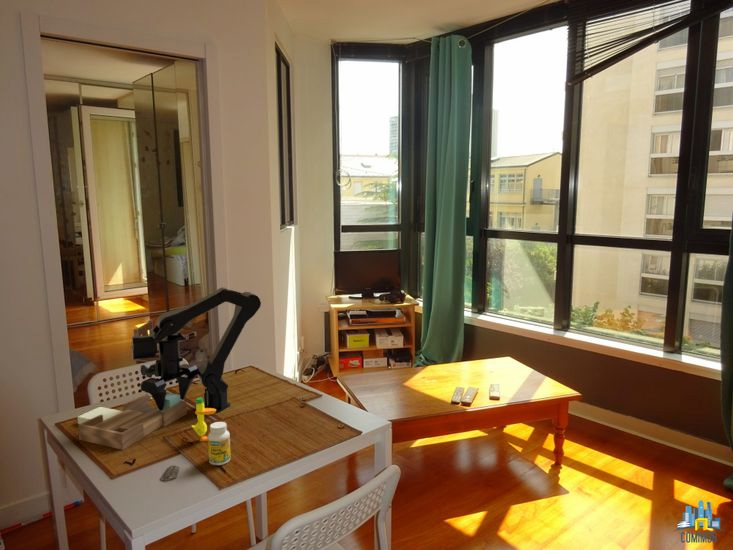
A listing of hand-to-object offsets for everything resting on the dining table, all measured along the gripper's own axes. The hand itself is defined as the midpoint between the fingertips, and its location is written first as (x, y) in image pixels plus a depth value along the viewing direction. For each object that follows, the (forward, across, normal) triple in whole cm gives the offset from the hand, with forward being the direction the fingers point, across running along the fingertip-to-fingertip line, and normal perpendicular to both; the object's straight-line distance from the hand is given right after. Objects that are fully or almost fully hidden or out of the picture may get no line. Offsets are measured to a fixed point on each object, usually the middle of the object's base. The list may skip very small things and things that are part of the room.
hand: (171, 404), depth 159 cm
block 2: (+4, +28, +24) cm, 37 cm away
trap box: (+4, +10, -4) cm, 11 cm away
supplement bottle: (+4, +18, +30) cm, 35 cm away
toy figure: (+4, +10, +20) cm, 22 cm away
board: (+4, +11, -16) cm, 20 cm away
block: (+1, +1, 0) cm, 1 cm away
